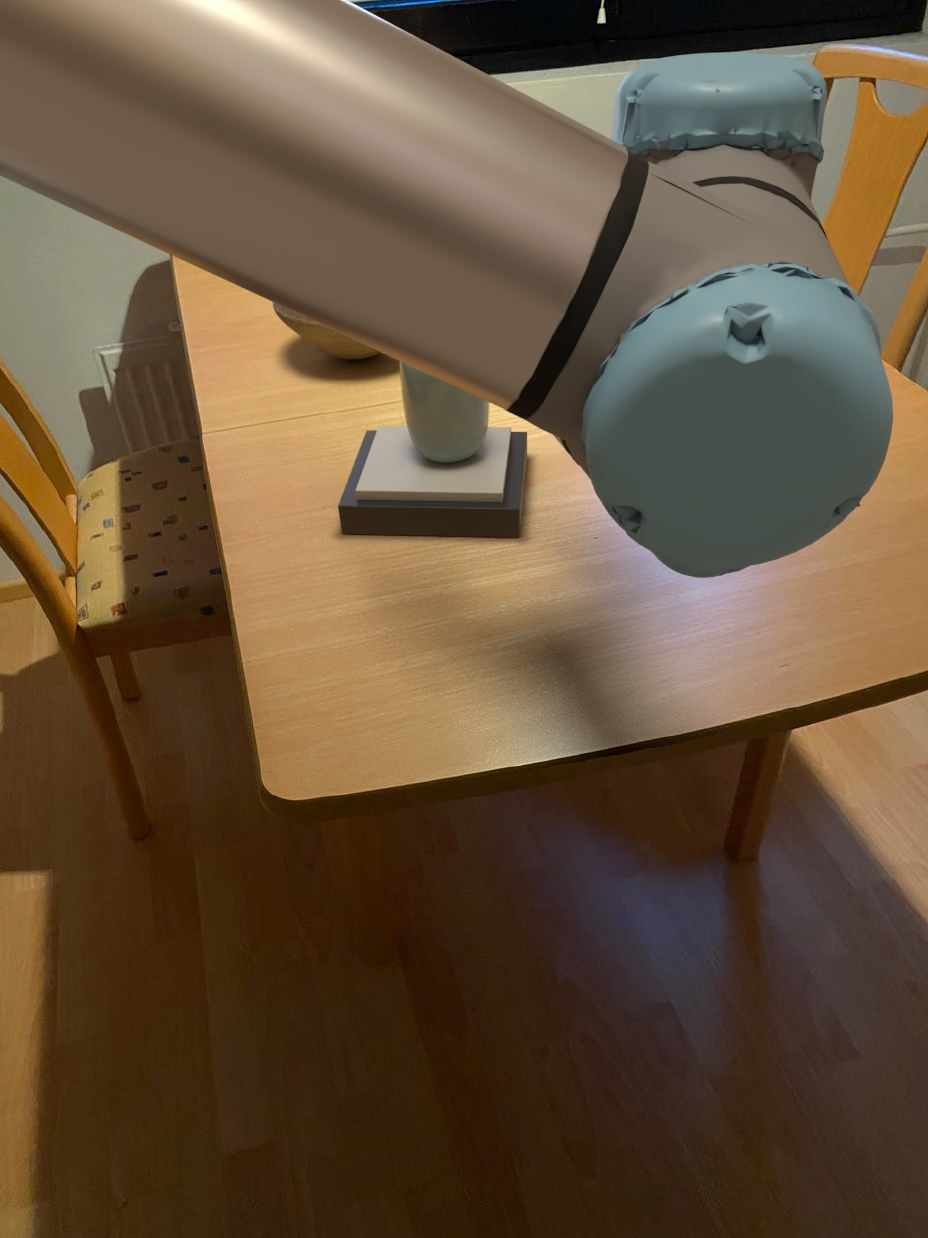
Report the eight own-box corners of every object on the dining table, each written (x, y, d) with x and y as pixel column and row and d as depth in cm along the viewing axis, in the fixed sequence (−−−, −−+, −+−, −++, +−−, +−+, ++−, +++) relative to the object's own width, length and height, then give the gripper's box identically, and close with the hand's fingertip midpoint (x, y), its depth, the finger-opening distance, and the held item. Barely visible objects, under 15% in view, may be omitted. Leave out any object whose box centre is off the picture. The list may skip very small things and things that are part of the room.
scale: (341, 534, 84) (336, 496, 81) (369, 456, 94) (365, 420, 92) (519, 538, 82) (519, 499, 79) (527, 458, 93) (527, 422, 90)
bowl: (268, 388, 108) (255, 321, 102) (297, 326, 122) (287, 264, 117) (427, 385, 106) (422, 317, 101) (437, 323, 121) (433, 260, 116)
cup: (500, 466, 84) (497, 361, 77) (415, 478, 83) (405, 373, 76) (480, 426, 90) (477, 326, 83) (401, 438, 89) (391, 337, 82)
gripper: (373, 476, 50) (305, 331, 65) (785, 396, 55) (630, 280, 71) (356, 340, 45) (288, 220, 61) (810, 267, 50) (638, 173, 66)
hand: (472, 252), depth 66 cm, fingers open, 13 cm apart
